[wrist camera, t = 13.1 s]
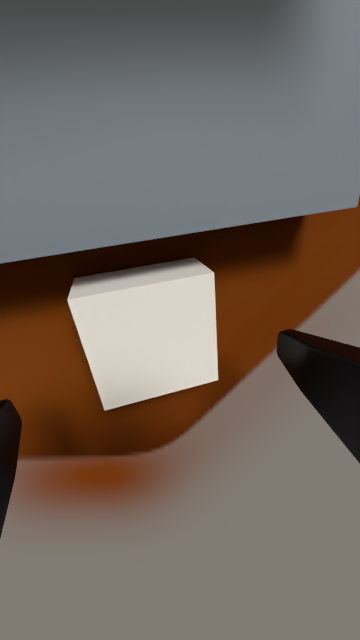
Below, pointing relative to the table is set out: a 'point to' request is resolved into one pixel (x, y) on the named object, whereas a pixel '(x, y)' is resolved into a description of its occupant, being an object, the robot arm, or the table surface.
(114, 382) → the white square block
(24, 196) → the lock plate
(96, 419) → the table surface
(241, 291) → the table surface
